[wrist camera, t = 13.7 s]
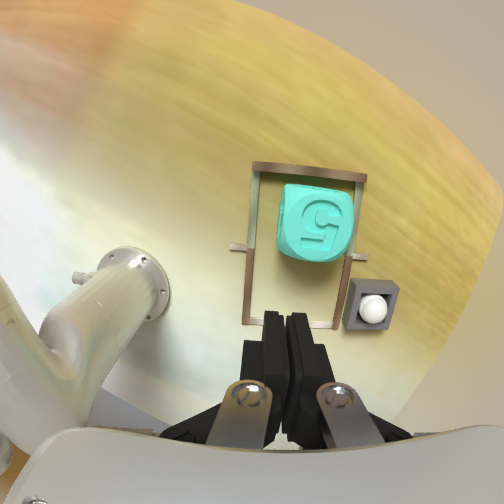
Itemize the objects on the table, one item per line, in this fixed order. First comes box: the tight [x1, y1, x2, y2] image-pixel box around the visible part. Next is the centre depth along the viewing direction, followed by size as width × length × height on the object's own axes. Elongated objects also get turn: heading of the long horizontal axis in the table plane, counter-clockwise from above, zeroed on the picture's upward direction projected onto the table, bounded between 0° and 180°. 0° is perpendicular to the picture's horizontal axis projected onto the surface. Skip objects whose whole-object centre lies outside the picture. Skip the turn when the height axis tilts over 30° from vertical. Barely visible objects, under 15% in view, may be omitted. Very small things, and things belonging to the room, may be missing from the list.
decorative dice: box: [277, 184, 354, 262], centre depth 36 cm, size 8×8×8 cm
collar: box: [342, 278, 400, 330], centre depth 41 cm, size 7×7×3 cm
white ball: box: [358, 293, 387, 324], centre depth 40 cm, size 4×4×4 cm
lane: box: [229, 161, 368, 329], centre depth 40 cm, size 20×24×2 cm
